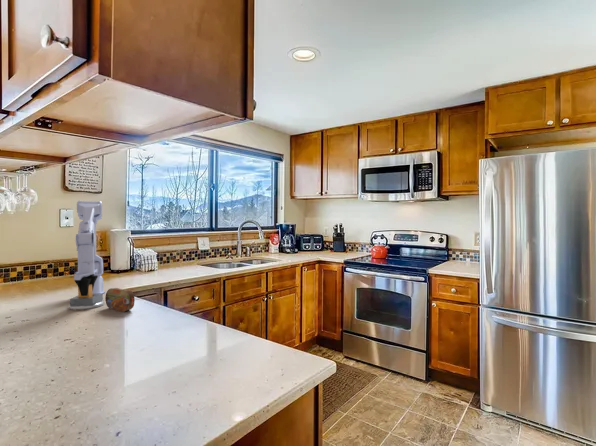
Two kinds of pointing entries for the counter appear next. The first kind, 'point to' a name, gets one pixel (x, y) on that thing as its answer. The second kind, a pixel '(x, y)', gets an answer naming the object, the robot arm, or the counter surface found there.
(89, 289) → the tan rectangular prism
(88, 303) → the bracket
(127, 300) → the tin
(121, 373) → the counter surface
